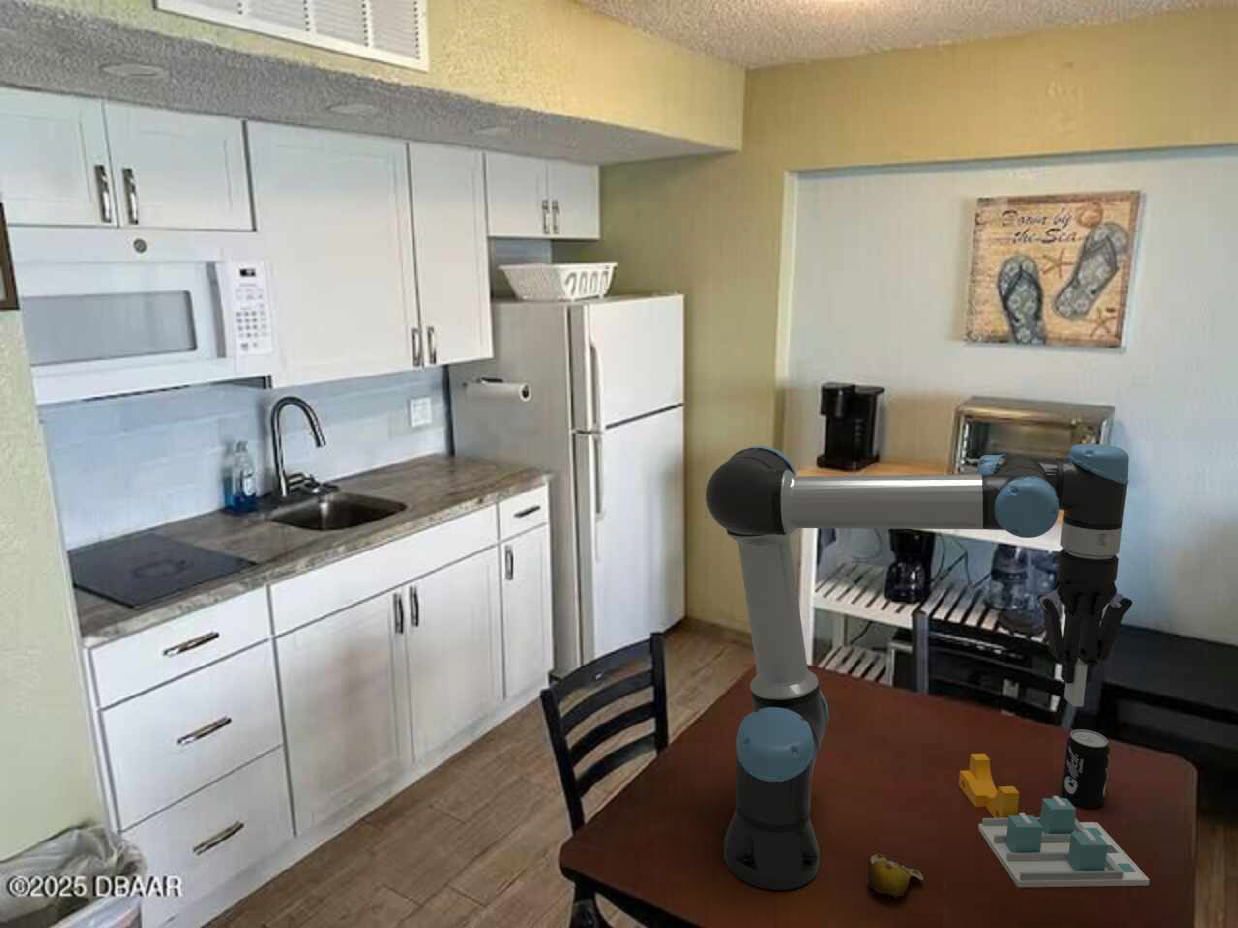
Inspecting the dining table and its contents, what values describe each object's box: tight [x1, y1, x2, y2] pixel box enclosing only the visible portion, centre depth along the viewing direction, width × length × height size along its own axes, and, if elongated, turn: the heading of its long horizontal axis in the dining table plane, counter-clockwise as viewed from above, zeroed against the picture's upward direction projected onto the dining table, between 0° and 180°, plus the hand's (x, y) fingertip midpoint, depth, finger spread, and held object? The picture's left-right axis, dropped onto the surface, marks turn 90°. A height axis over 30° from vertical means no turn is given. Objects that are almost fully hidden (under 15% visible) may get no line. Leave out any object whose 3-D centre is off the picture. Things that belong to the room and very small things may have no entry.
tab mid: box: [1006, 812, 1043, 853], centre depth 132 cm, size 4×3×6 cm
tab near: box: [1068, 830, 1108, 871], centre depth 128 cm, size 4×3×6 cm
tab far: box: [1039, 795, 1077, 834], centre depth 137 cm, size 4×3×6 cm
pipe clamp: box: [958, 753, 1020, 818], centre depth 146 cm, size 12×4×6 cm, turn 3°
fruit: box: [867, 853, 924, 898], centre depth 127 cm, size 8×8×4 cm
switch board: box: [977, 816, 1151, 888], centre depth 133 cm, size 20×14×2 cm
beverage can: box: [1061, 728, 1111, 809], centre depth 147 cm, size 7×7×12 cm
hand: (1073, 701), depth 125 cm, fingers closed
